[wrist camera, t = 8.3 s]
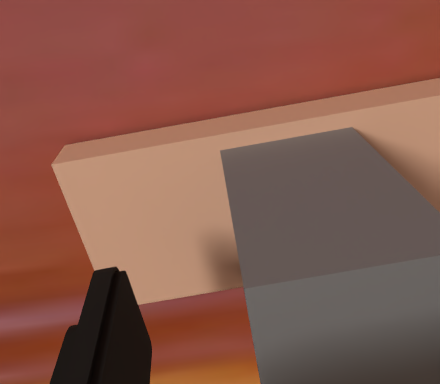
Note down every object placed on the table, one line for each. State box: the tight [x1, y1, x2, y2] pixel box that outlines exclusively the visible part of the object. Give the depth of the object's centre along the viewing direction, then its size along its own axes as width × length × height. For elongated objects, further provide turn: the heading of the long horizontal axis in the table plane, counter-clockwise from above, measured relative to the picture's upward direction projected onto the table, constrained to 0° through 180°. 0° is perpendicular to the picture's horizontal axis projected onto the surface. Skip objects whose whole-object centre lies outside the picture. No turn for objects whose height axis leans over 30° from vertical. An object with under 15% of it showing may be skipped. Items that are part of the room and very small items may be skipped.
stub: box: [51, 78, 440, 384], centre depth 11 cm, size 6×14×8 cm, turn 99°
